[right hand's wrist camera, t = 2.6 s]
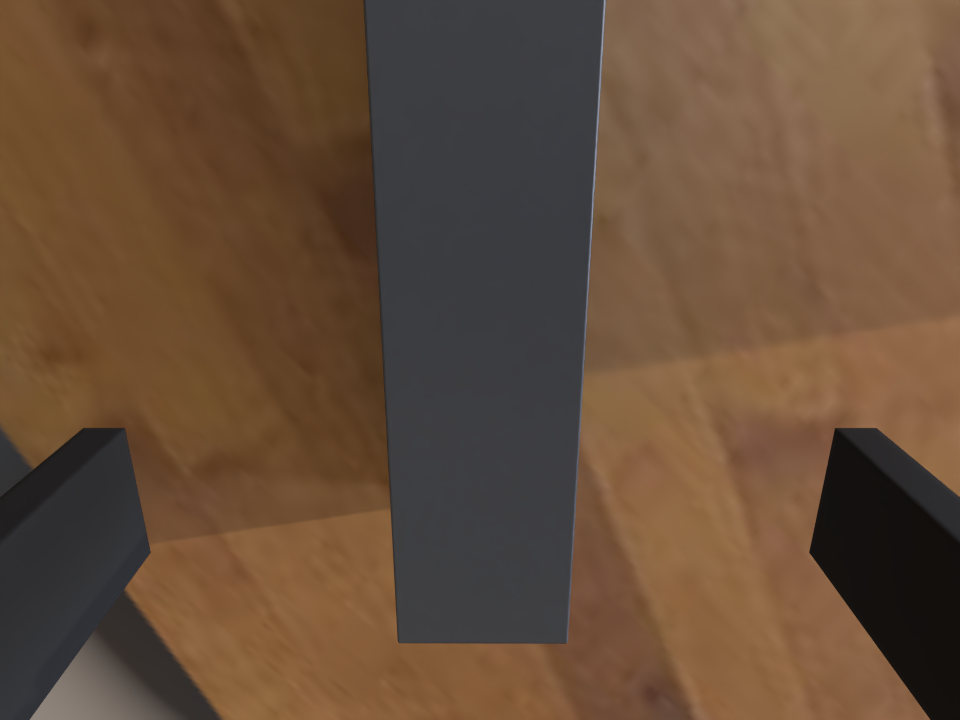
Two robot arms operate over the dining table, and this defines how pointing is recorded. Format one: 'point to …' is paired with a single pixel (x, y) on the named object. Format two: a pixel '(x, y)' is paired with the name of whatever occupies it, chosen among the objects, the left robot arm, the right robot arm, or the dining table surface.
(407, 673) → the dining table surface
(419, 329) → the board
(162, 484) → the dining table surface
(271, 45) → the dining table surface
